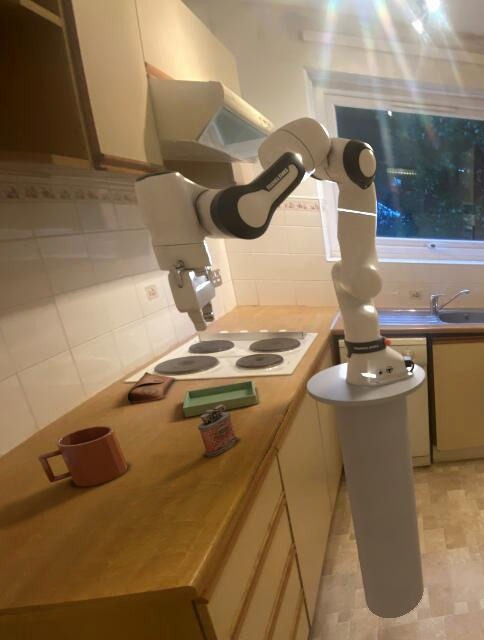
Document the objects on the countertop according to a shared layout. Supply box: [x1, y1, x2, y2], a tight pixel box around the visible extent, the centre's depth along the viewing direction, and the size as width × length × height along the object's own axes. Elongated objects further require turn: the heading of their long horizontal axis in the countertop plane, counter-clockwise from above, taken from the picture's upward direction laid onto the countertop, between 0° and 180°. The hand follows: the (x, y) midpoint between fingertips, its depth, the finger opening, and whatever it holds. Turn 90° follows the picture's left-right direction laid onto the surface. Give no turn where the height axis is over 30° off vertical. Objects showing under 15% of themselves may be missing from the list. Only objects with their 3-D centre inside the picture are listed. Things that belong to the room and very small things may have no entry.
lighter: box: [197, 405, 238, 457], centre depth 101 cm, size 8×3×10 cm, turn 170°
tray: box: [182, 380, 258, 418], centre depth 126 cm, size 17×13×3 cm
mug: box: [37, 425, 128, 487], centre depth 90 cm, size 12×9×10 cm
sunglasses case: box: [126, 371, 176, 404], centre depth 133 cm, size 18×7×7 cm
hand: (206, 325), depth 93 cm, fingers open, 8 cm apart
